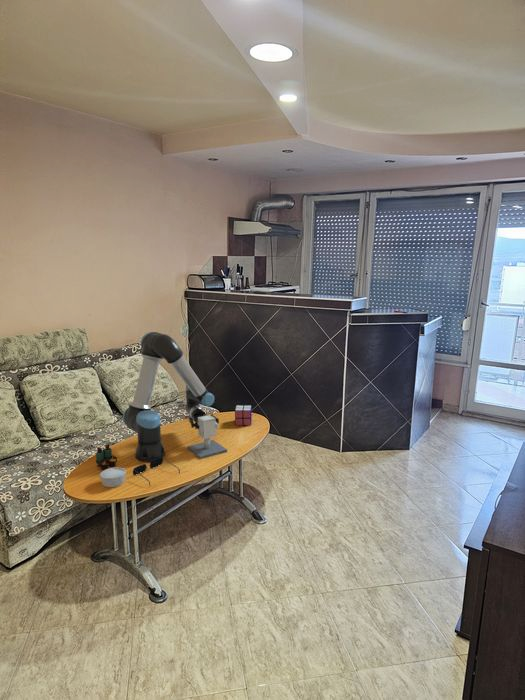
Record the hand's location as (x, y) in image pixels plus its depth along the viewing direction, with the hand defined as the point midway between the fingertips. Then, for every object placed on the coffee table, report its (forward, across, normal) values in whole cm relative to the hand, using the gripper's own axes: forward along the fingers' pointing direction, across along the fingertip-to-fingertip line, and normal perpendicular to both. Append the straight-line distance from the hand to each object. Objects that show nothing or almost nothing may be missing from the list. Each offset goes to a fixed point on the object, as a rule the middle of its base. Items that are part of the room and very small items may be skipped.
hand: (209, 428), depth 229 cm
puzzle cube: (-35, -33, -15) cm, 50 cm away
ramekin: (+12, +50, -14) cm, 54 cm away
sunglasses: (+13, +31, -15) cm, 36 cm away
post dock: (-5, 0, -14) cm, 15 cm away
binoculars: (-6, +52, -14) cm, 54 cm away
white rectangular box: (-5, 0, -6) cm, 8 cm away
